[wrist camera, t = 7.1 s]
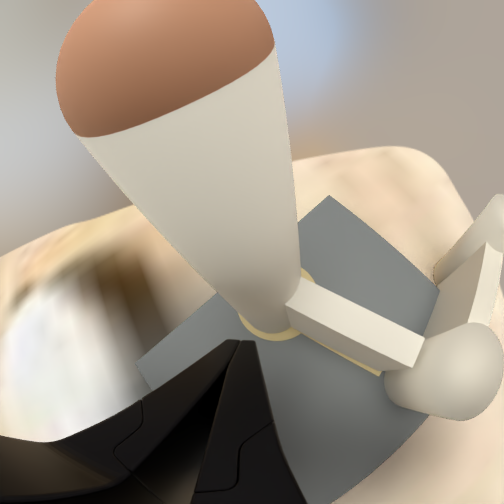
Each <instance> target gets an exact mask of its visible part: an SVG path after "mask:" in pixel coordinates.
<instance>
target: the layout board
mask: <svg viewBox="0 0 504 504" xmlns="http://www.w3.org/2000/svg"><path fill="white" fill-rule="evenodd" d="M298 234H299V248H300V263H301V277H303V278H305V279H307V280H309V281H311V282H313V283H315V284H317V285H319V286H321V287H323V288H325V289H327V290H329V291H331V292H333V293H335V294H337V295H339V296H341V297H343V298H345V299H347V300H349V301H351V302H353V303H355V304H357V305H359V306H361V307H363V308H366V309H368V310H370V311H372V312H374V313H376V314H378V315H380V316H382V317H384V318H386V319H388V320H390V321H392V322H394V323H396V324H398V325H400V326H402V327H404V328H406V329H408V330H410V331H412V332H414V333H416V334H418V335H420V336H423V334H424V332H425V329H426V327H427V324H428V322H429V319H430V317H431V314H432V312H433V309H434V306H435V304H436V301H437V298H438V295H439V292H440V290H439V289H438V288H437V287H436V286H435V285H434V284H433V283H432V282H431V281H430V280H429V279H428V278H427V277H426V276H425V275H424V274H423V273H422V272H421V271H419V270H418V269H417V268H416V267H415V266H414V265H413V264H412V263H411V262H410V261H409V260H408V259H406V258H405V257H404V256H403V255H402V254H401V253H400V252H399V251H397V250H396V249H395V248H394V247H393V246H392V245H391V244H389V243H388V242H387V241H386V240H385V239H384V238H382V237H381V236H380V235H379V234H378V233H376V232H375V231H374V230H373V229H372V228H370V227H369V226H368V225H367V224H366V223H364V222H363V221H362V220H361V219H359V218H358V217H357V216H356V215H354V214H353V213H352V212H351V211H349V210H348V209H347V208H345V207H344V206H343V205H342V204H340V203H339V202H338V201H336V200H335V199H334V198H332V197H331V196H330V195H329V196H327V197H326V198H325V199H324V200H323V201H322V202H321V203H319V204H318V205H317V206H316V207H315V208H314V209H313V210H312V211H310V212H309V213H308V214H307V215H306V216H305V217H304V218H302V219H301V220H300V221H299V222H298ZM226 339H239V340H241V341H242V340H254V341H255V342H256V345H257V349H258V353H259V357H260V362H261V366H262V370H263V374H264V379H265V383H266V387H267V391H268V395H269V399H270V403H271V407H272V411H273V416H274V420H275V423H276V427H277V431H278V435H279V438H280V441H281V445H282V448H283V451H284V454H285V456H286V458H287V461H288V463H289V466H290V468H291V470H292V472H293V474H294V476H295V478H296V480H297V482H298V485H299V487H300V489H301V491H302V493H303V495H304V497H305V499H306V501H307V502H308V504H330V503H332V502H333V501H335V500H336V499H338V498H339V497H341V496H342V495H343V494H345V493H346V492H348V491H349V490H350V489H352V488H353V487H354V486H356V485H357V484H358V483H359V482H361V481H362V480H363V479H364V478H366V477H367V476H368V475H369V474H371V473H372V472H373V471H374V470H375V469H376V468H378V467H379V466H380V465H381V464H382V463H383V462H384V461H385V460H387V459H388V458H389V457H390V456H391V455H392V454H393V453H394V452H395V451H396V450H397V449H398V448H399V447H400V446H401V445H402V444H403V443H404V442H405V441H406V440H407V439H408V438H409V437H410V436H411V435H412V434H413V433H414V432H415V431H416V430H417V428H418V427H419V426H420V425H421V424H422V423H423V422H424V421H425V419H426V418H427V417H428V416H429V415H430V414H426V413H422V412H418V411H414V410H411V409H407V408H404V407H400V406H398V405H396V404H395V403H393V402H392V401H391V400H390V399H389V397H388V395H387V393H386V391H385V386H384V375H385V371H377V370H375V369H373V368H371V367H369V366H367V365H365V364H363V363H361V362H358V361H356V360H354V359H352V358H350V357H348V356H346V355H344V354H342V353H340V352H338V351H336V350H334V349H332V348H330V347H328V346H326V345H325V344H323V343H321V342H319V341H317V340H315V339H313V338H311V337H309V336H307V335H305V334H303V333H302V332H300V331H298V330H296V329H294V328H292V327H290V328H289V329H287V330H285V331H283V332H280V333H274V334H270V333H264V332H261V331H259V330H257V329H256V328H254V327H253V326H252V325H251V324H250V323H249V322H248V321H247V320H246V319H244V318H243V317H242V316H241V315H240V314H239V313H238V312H237V311H236V310H235V309H234V308H233V307H232V306H231V305H230V304H229V303H228V302H227V301H226V300H225V299H224V298H223V297H222V296H221V295H220V294H219V293H216V294H215V295H214V296H213V297H212V298H211V299H209V300H208V301H207V302H206V303H205V304H204V305H202V306H201V307H200V308H199V309H198V310H197V311H195V312H194V313H193V314H192V315H191V316H190V317H188V318H187V319H186V320H185V321H184V322H183V323H181V324H180V325H179V326H178V327H177V328H176V329H174V330H173V331H172V332H171V333H170V334H169V335H167V336H166V337H165V338H164V339H163V340H162V341H160V342H159V343H158V344H157V345H156V346H155V347H153V348H152V349H151V350H150V351H149V352H148V353H146V354H145V355H144V356H143V357H142V358H140V359H139V360H138V361H137V362H136V363H135V365H136V366H137V368H138V370H139V371H140V373H141V374H142V376H143V378H144V379H145V381H146V382H147V384H148V385H149V387H150V389H151V390H152V391H154V390H155V389H157V388H158V387H160V386H161V385H163V384H164V383H166V382H167V381H169V380H170V379H171V378H173V377H174V376H176V375H177V374H179V373H180V372H182V371H183V370H184V369H186V368H187V367H189V366H190V365H192V364H193V363H194V362H196V361H197V360H199V359H200V358H201V357H203V356H204V355H206V354H207V353H208V352H210V351H211V350H212V349H214V348H215V347H217V346H218V345H219V344H221V343H222V342H223V341H225V340H226Z"/></svg>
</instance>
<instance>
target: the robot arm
mask: <svg viewBox="0 0 504 504" xmlns="http://www.w3.org/2000/svg"><path fill="white" fill-rule="evenodd" d="M0 504H308V502H307V501H306V499H305V497H304V495H303V493H302V491H301V489H300V487H299V485H298V482H297V480H296V478H295V476H294V474H293V472H292V470H291V468H290V466H289V463H288V461H287V458H286V456H285V454H284V451H283V448H282V445H281V441H280V438H279V435H278V431H277V427H276V423H275V420H274V416H273V411H272V407H271V403H270V399H269V395H268V391H267V387H266V383H265V379H264V374H263V370H262V366H261V362H260V357H259V353H258V349H257V345H256V342H255V341H254V340H242V341H241V340H239V339H226V340H225V341H223V342H222V343H221V344H219V345H218V346H217V347H215V348H214V349H212V350H211V351H210V352H208V353H207V354H206V355H204V356H203V357H201V358H200V359H199V360H197V361H196V362H194V363H193V364H192V365H190V366H189V367H187V368H186V369H184V370H183V371H182V372H180V373H179V374H177V375H176V376H174V377H173V378H171V379H170V380H169V381H167V382H166V383H164V384H163V385H161V386H160V387H158V388H157V389H155V390H154V391H152V392H151V393H149V394H148V395H146V396H145V397H143V398H142V400H138V401H137V402H135V403H134V404H132V405H130V406H129V407H127V408H126V409H124V410H122V411H120V412H119V413H117V414H115V415H114V416H112V417H110V418H108V419H106V420H104V421H102V422H100V423H98V424H96V425H93V426H91V427H89V428H87V429H85V430H82V431H80V432H78V433H76V434H73V435H71V436H69V437H66V438H64V439H61V440H58V441H54V442H34V441H27V440H21V439H15V438H10V437H5V436H1V435H0Z"/></svg>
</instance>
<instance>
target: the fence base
mask: <svg viewBox="0 0 504 504" xmlns="http://www.w3.org/2000/svg"><path fill="white" fill-rule="evenodd" d="M503 256H504V194H496V195H495V196H494V197H493V198H492V200H491V201H490V202H489V204H488V205H487V206H486V208H485V209H484V210H483V212H482V213H481V214H480V215H479V216H478V218H477V219H476V220H475V221H474V223H473V224H472V225H471V226H470V227H469V229H468V230H467V231H466V232H465V233H464V234H463V236H462V237H461V238H460V239H459V240H458V241H457V242H456V244H455V245H454V246H453V247H452V248H451V249H450V250H449V251H448V252H447V253H446V255H445V256H444V257H443V258H442V259H441V260H440V261H439V262H438V263H437V264H436V266H435V268H434V280H435V283H436V285H437V288H438V289H439V290H440V292H439V295H438V298H437V301H436V304H435V306H434V309H433V312H432V314H431V317H430V319H429V322H428V324H427V327H426V329H425V332H424V334H423V336H422V337H424V338H425V339H424V342H423V344H422V347H421V349H420V352H419V354H418V356H417V359H416V361H415V363H414V366H413V368H409V369H400V370H389V371H385V375H384V386H385V391H386V393H387V395H388V397H389V399H390V400H391V401H392V402H393V403H395V404H396V405H398V406H400V407H404V408H407V409H411V410H414V411H418V412H422V413H426V414H430V415H434V416H438V417H442V418H446V419H451V420H456V421H465V420H469V419H471V418H474V417H476V416H477V415H479V414H480V413H482V412H483V411H484V410H485V409H486V408H487V407H488V406H489V405H490V403H491V402H492V401H493V399H494V398H495V396H496V394H497V392H498V390H499V387H500V384H501V381H502V377H503V371H504V355H503V350H502V346H501V343H500V341H499V339H498V337H497V336H496V334H495V333H494V332H493V331H492V330H491V329H490V328H489V324H490V320H491V316H492V312H493V308H494V304H495V300H496V295H497V290H498V285H499V280H500V274H501V267H502V260H503Z"/></svg>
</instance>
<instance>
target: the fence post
mask: <svg viewBox="0 0 504 504" xmlns="http://www.w3.org/2000/svg"><path fill="white" fill-rule="evenodd" d="M56 90H57V96H58V101H59V104H60V108H61V111H62V113H63V115H64V118H65V120H66V121H67V123H68V125H69V126H70V128H71V129H72V131H73V132H74V133H75V135H76V136H77V137H78V138H79V139H80V141H81V142H82V143H83V145H84V146H85V147H86V148H87V150H88V151H89V152H90V153H91V155H92V156H93V157H94V158H95V159H96V161H97V162H98V163H99V164H100V165H101V167H102V168H103V169H104V170H105V171H106V173H107V174H108V175H109V176H110V177H111V179H112V180H113V181H114V182H115V183H116V184H117V186H118V187H119V188H120V189H121V190H122V191H123V192H124V194H125V195H126V196H127V197H128V198H129V199H130V200H131V202H132V203H133V204H134V205H135V206H136V207H137V208H138V209H139V211H140V212H141V213H142V214H143V215H144V216H145V217H146V218H147V219H148V221H149V222H150V223H151V224H152V225H153V226H154V227H155V228H156V229H157V230H158V231H159V232H160V234H161V235H162V236H163V237H164V238H165V239H166V240H167V241H168V242H169V243H170V244H171V245H172V246H173V247H174V248H175V250H176V251H177V252H178V253H179V254H180V255H181V256H182V257H183V258H184V259H185V260H186V261H187V262H188V263H189V264H190V265H191V266H192V267H193V268H194V269H195V270H196V271H197V272H198V273H199V274H200V275H201V276H202V277H203V278H204V279H205V280H206V281H207V282H208V283H209V284H210V285H211V286H212V287H213V288H214V289H215V290H216V291H217V292H218V293H219V294H220V295H221V296H222V297H223V298H224V299H225V300H226V301H227V302H228V303H229V304H230V305H231V306H232V307H233V308H234V309H235V310H236V311H237V312H238V313H239V314H240V315H241V316H242V317H243V318H244V319H246V320H247V321H248V322H249V323H250V324H251V325H252V326H253V327H254V328H256V329H257V330H259V331H261V332H264V333H270V334H274V333H280V332H283V331H285V330H287V329H289V328H290V327H292V328H294V329H296V330H298V331H300V332H302V333H303V334H305V335H307V336H309V337H311V338H313V339H315V340H317V341H319V342H321V343H323V344H325V345H326V346H328V347H330V348H332V349H334V350H336V351H338V352H340V353H342V354H344V355H346V356H348V357H350V358H352V359H354V360H356V361H358V362H361V363H363V364H365V365H367V366H369V367H371V368H373V369H375V370H377V371H389V370H400V369H409V368H413V366H414V363H415V361H416V359H417V356H418V354H419V352H420V349H421V347H422V344H423V342H424V339H425V338H424V337H422V336H420V335H418V334H416V333H414V332H412V331H410V330H408V329H406V328H404V327H402V326H400V325H398V324H396V323H394V322H392V321H390V320H388V319H386V318H384V317H382V316H380V315H378V314H376V313H374V312H372V311H370V310H368V309H366V308H363V307H361V306H359V305H357V304H355V303H353V302H351V301H349V300H347V299H345V298H343V297H341V296H339V295H337V294H335V293H333V292H331V291H329V290H327V289H325V288H323V287H321V286H319V285H317V284H315V283H313V282H311V281H309V280H307V279H305V278H303V277H301V263H300V248H299V234H298V221H297V210H296V198H295V188H294V178H293V168H292V160H291V150H290V142H289V134H288V126H287V119H286V111H285V104H284V97H283V90H282V84H281V77H280V71H279V65H278V59H277V53H276V47H275V42H274V38H273V34H272V31H271V28H270V25H269V23H268V20H267V18H266V16H265V14H264V12H263V11H262V10H261V8H260V7H259V5H258V4H257V2H256V1H255V0H93V1H92V2H91V3H90V4H89V5H88V6H87V7H86V8H85V9H84V10H83V12H82V13H81V14H80V15H79V17H78V18H77V19H76V20H75V22H74V23H73V25H72V27H71V28H70V30H69V32H68V34H67V35H66V38H65V40H64V42H63V45H62V47H61V50H60V54H59V57H58V61H57V69H56Z"/></svg>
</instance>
